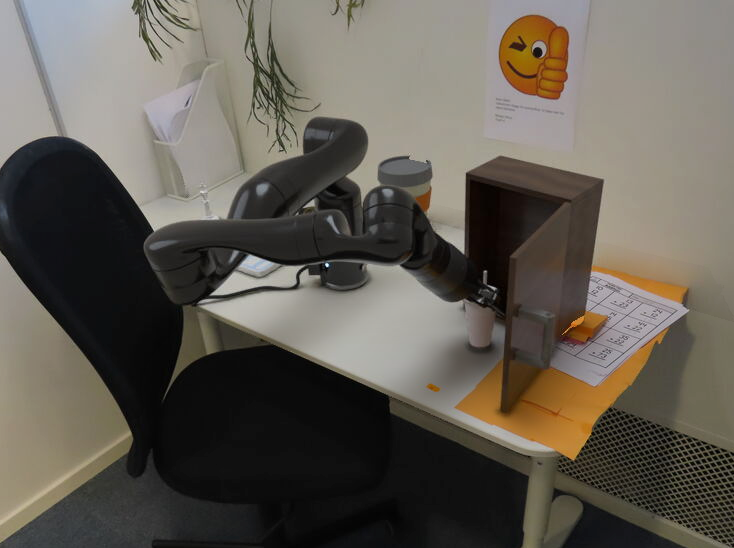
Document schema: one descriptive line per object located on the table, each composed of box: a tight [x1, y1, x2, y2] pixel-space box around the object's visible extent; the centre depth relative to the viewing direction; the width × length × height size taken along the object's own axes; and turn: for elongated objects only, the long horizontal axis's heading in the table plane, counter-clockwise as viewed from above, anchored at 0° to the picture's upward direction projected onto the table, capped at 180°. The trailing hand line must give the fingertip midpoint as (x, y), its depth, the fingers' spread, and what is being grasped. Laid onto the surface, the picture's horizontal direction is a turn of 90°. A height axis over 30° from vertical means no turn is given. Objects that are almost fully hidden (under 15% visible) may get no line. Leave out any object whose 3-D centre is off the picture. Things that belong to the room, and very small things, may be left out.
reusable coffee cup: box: [377, 155, 434, 217], centre depth 159 cm, size 12×13×15 cm
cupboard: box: [462, 155, 605, 346], centre depth 121 cm, size 10×20×27 cm, turn 46°
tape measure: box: [297, 205, 315, 215], centre depth 166 cm, size 7×7×4 cm
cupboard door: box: [499, 202, 572, 414], centre depth 104 cm, size 6×20×27 cm, turn 146°
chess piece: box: [198, 182, 220, 220], centre depth 170 cm, size 5×5×10 cm
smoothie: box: [462, 271, 496, 348], centre depth 117 cm, size 6×6×14 cm
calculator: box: [235, 255, 282, 278], centre depth 155 cm, size 13×20×2 cm, turn 53°
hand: (486, 304), depth 118 cm, fingers closed on smoothie, 6 cm apart
